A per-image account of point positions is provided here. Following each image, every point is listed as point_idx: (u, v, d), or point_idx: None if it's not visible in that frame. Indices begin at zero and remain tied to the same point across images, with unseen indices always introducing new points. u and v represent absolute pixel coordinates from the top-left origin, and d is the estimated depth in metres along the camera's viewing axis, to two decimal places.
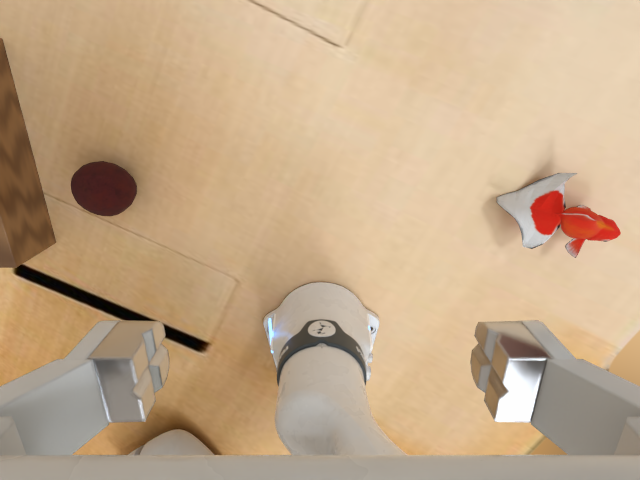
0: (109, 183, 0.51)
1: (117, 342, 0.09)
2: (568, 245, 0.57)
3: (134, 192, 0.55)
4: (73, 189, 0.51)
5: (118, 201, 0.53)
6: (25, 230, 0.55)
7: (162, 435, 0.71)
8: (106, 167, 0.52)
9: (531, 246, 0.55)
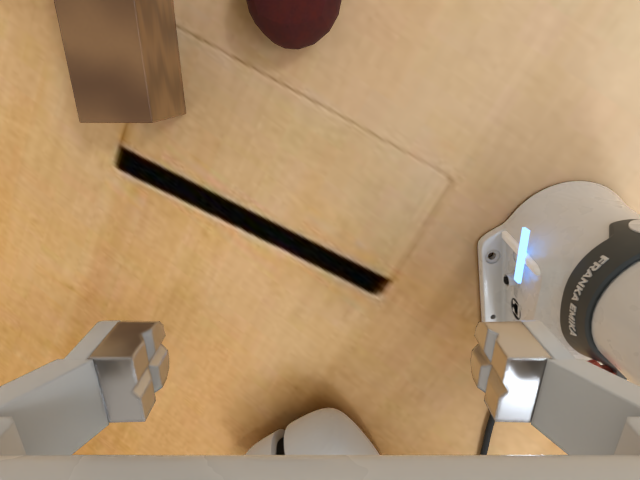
0: None
1: (117, 342, 0.09)
2: None
3: (339, 7, 0.33)
4: None
5: (326, 9, 0.31)
6: (161, 69, 0.33)
7: (312, 415, 0.49)
8: None
9: None
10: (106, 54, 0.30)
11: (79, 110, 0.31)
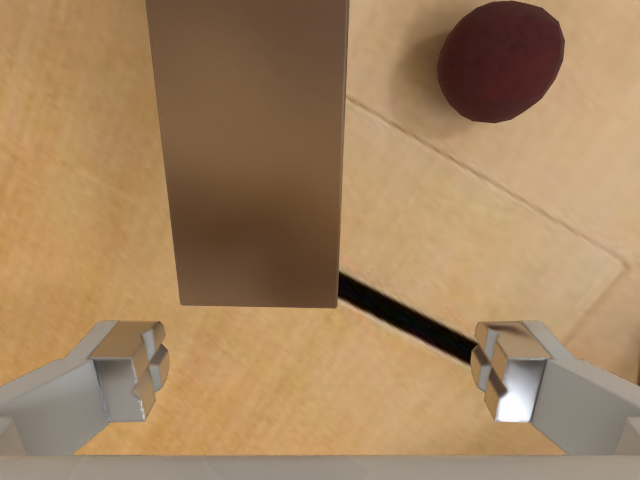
0: (557, 37, 0.24)
1: (117, 342, 0.09)
2: None
3: None
4: (474, 49, 0.24)
5: (549, 83, 0.25)
6: None
7: None
8: None
9: None
10: (260, 174, 0.13)
11: (182, 283, 0.14)
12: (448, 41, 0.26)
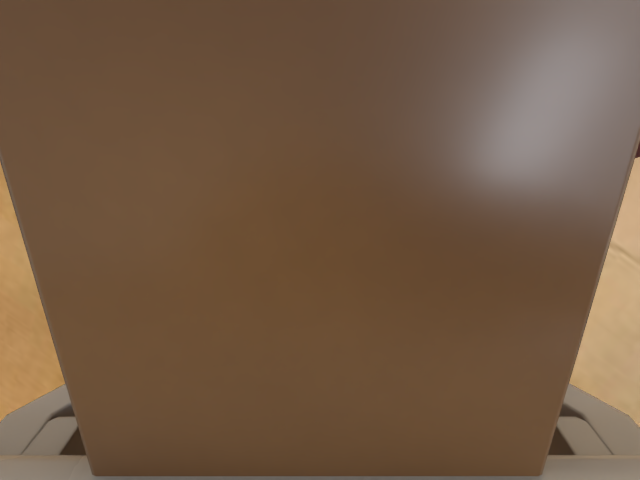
0: None
1: None
2: None
3: None
4: None
5: None
6: None
7: None
8: None
9: None
10: (335, 463, 0.05)
11: None
12: None
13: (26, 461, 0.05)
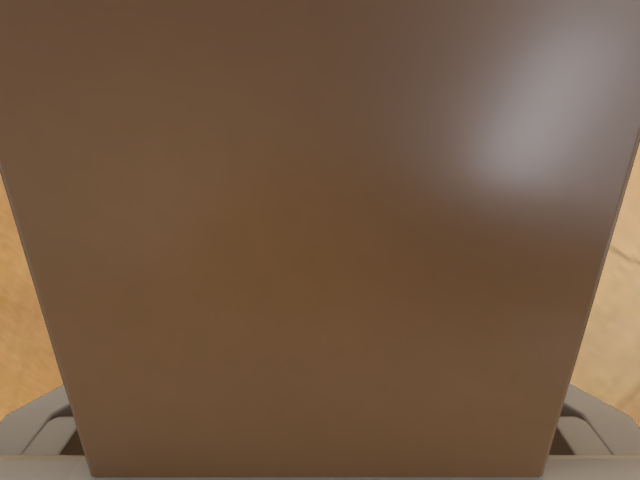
0: None
1: None
2: None
3: None
4: None
5: None
6: None
7: None
8: None
9: None
10: (335, 466, 0.05)
11: None
12: None
13: (26, 461, 0.05)
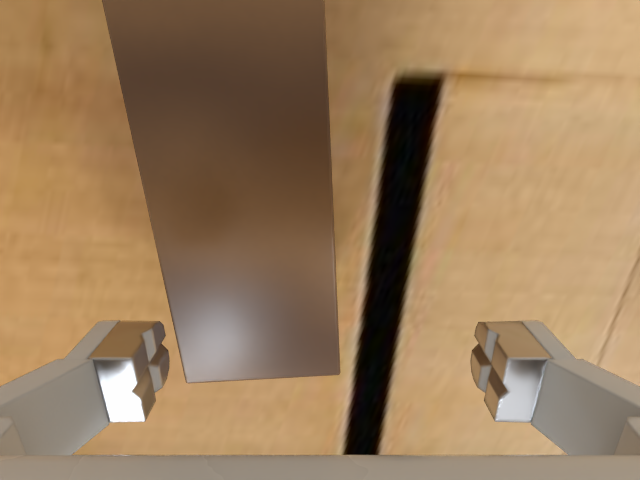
0: None
1: (117, 342, 0.09)
2: None
3: None
4: None
5: None
6: None
7: None
8: None
9: None
10: (254, 258, 0.13)
11: (186, 363, 0.15)
12: None
13: (26, 461, 0.05)
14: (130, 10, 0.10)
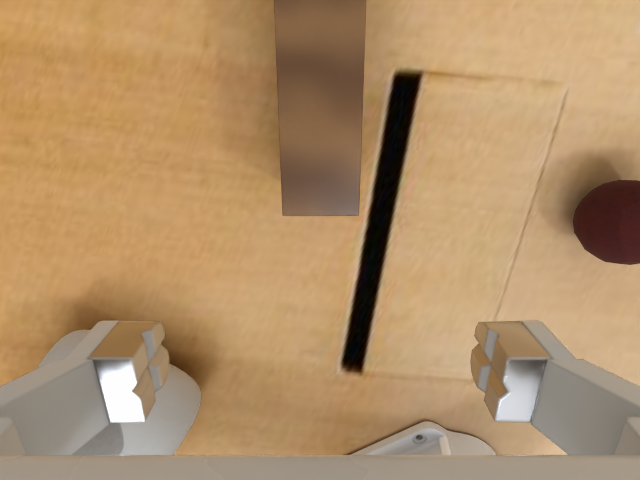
0: None
1: (117, 342, 0.09)
2: None
3: None
4: None
5: (631, 262, 0.35)
6: None
7: (185, 378, 0.42)
8: None
9: None
10: (323, 150, 0.28)
11: (284, 204, 0.30)
12: (639, 182, 0.34)
13: (26, 461, 0.05)
14: (286, 36, 0.26)
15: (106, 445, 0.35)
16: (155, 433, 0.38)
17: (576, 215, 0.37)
